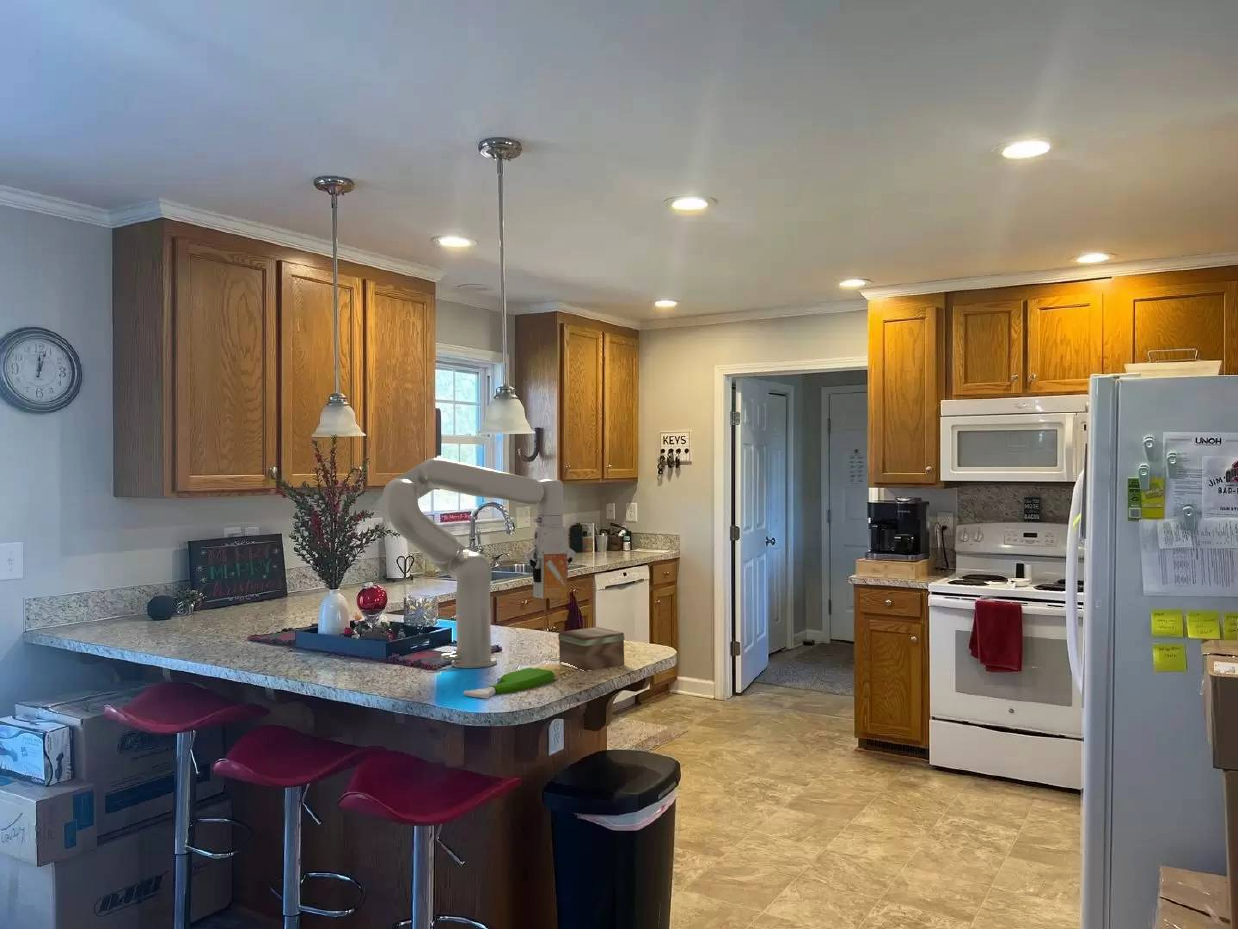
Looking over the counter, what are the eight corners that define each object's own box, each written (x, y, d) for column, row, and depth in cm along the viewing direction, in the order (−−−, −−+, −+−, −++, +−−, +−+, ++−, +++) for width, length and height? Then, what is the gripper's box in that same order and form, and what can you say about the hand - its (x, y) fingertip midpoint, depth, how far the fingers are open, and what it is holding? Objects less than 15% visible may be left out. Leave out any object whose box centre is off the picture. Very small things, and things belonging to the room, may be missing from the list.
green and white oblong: (558, 682, 232) (491, 704, 212) (526, 677, 238) (459, 698, 219) (558, 671, 232) (491, 691, 212) (526, 666, 238) (458, 686, 219)
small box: (543, 599, 260) (543, 553, 260) (532, 597, 265) (533, 552, 266) (567, 597, 265) (567, 552, 265) (556, 595, 270) (556, 551, 270)
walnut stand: (584, 672, 242) (584, 638, 242) (558, 664, 253) (558, 632, 253) (625, 665, 250) (624, 632, 250) (598, 658, 261) (597, 626, 261)
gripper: (530, 522, 257) (530, 584, 257) (582, 521, 267) (582, 580, 267) (517, 522, 263) (518, 582, 263) (568, 520, 273) (568, 578, 273)
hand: (550, 580), depth 265 cm, fingers closed on small box, 8 cm apart
